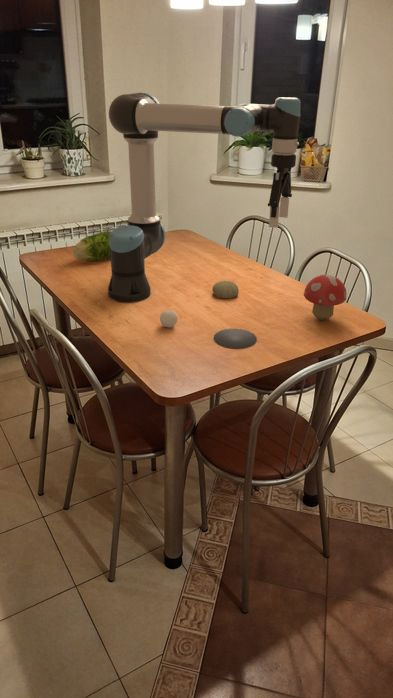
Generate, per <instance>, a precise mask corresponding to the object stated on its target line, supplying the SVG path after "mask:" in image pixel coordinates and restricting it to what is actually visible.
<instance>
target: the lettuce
mask: <svg viewBox="0 0 393 698" xmlns="http://www.w3.org/2000/svg"><path fill="white" fill-rule="evenodd" d="M111 232H112V230H109V231H107V230H106V231H101V232H97V233H95V234H90V235H88V236H86V237H83V238H82V239H81V240H80V241H78V242H77V243H76V244H75V245H74V246H73V248H72V254H73V256H74V258H76V260H79V261H80V260H81V261H87V262H97V261H105V259H106V260H110V259H111V257H110V246H109V236H110V233H111ZM109 258H110V259H109Z"/></svg>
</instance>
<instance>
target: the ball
mask: <svg viewBox="0 0 393 698" xmlns="http://www.w3.org/2000/svg"><path fill="white" fill-rule="evenodd" d="M159 322H160V324H161V325H162V326H164V327H165V328H172V327H174V326H175V325H176V324H177V323H178V315H177V313H176V312H175V311H174V310H172V309H166V310H164V311H162V312H161V313H160V316H159Z"/></svg>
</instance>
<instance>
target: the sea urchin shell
mask: <svg viewBox="0 0 393 698" xmlns="http://www.w3.org/2000/svg"><path fill="white" fill-rule="evenodd" d="M212 293H213V295H215V297H217V298H219V299H231V298H235V297H236V296H238V294H239V287H238V285H237V284H236V283H235V282H232V281H231V280H221V281H218V282H216V283H214V285H213V286H212Z"/></svg>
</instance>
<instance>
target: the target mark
mask: <svg viewBox="0 0 393 698" xmlns="http://www.w3.org/2000/svg"><path fill="white" fill-rule="evenodd" d="M257 340H258V338H257V335H256V334H255V333H253V332H251V331H249V330H246V329H242V328H227V329H225V328H224V329H222V330H219V331H217V332H216V333H214V335H213V341H214V342H215V343H216V344H217V345H219V346H221V347H223V348H227V349H232V350H234V349H235V350H239V349H247V348H250V347H252V346H254V345H255V344H256V343H257Z"/></svg>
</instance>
